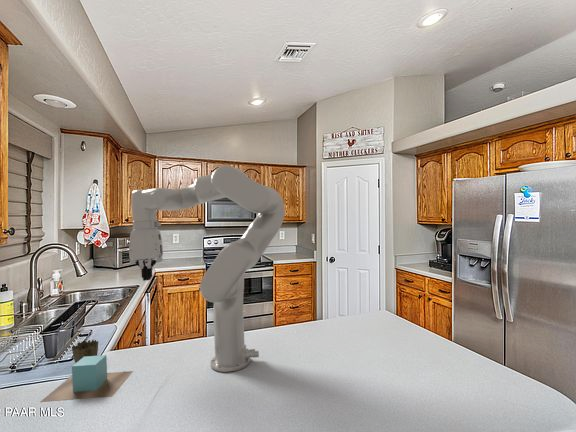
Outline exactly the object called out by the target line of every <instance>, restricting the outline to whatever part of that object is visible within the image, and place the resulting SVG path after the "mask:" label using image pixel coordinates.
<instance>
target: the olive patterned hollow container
mask: <svg viewBox="0 0 576 432" xmlns="http://www.w3.org/2000/svg"><path fill="white" fill-rule="evenodd" d="M98 350H99V340H96V339H92V340H90V339H89V340H88V341H86V340H83V341H81V342H80V341H78V342H77V345H75V344H73V345H72V346H71V352H72V356H73V360H74V364H75V363H77V362H78V361H79V360H81V359H82V358H83V357H85V356H98V352H99V351H98Z"/></svg>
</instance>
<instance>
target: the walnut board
mask: <svg viewBox="0 0 576 432" xmlns="http://www.w3.org/2000/svg"><path fill="white" fill-rule="evenodd" d="M133 372H134V371H133V370H129V371H128V370H126V371H115V372H107V380H106V381H105V382H104V383H103V384H102V385H101V386H100V387H99V388H98V389H97V390H92V391H79V392H73V382H72V375H70V376H69V377H68V378H67V379H66V380H65V381H63V382H62V383H61V384H60V385H59V386H57V387H56V388H55V389H54V390H53V391H51V392H50V393H48V395H47V396H45V397H44V398H43V399H41V401H39V402H40V403H44V402H45V403H46V402H54V401H55V402H56V401H58V402H59V401H72V400H83V399H84V400H85V399H97V398H110V397H113V396H114V395H115V393H116V392H117V391H118V390H119V389H120V388H121V386H122V385H123V384H124V383H125V382H126V380H127V379H128V378H129V377H130V376H131V375H132V374H133Z"/></svg>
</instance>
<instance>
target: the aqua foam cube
mask: <svg viewBox="0 0 576 432" xmlns="http://www.w3.org/2000/svg"><path fill="white" fill-rule="evenodd" d="M107 361H108V359H107V354H101V355H97V356H85V357H83V358H82V359H81V360H79V361H78V362H77V363H75V362H74V364H73V365H72V366H71V376H72V382H73V392H79V391H92V390H97V389H98V388H99V387H100V386H101V385H102V384H103V383H104V382H105V381H106V380H107V373H108V364H107V363H108V362H107Z"/></svg>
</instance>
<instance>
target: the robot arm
mask: <svg viewBox="0 0 576 432" xmlns="http://www.w3.org/2000/svg"><path fill="white" fill-rule="evenodd" d="M225 198H227V199H228V200H230V201H232V202H234V203H235V204H237V205H238V206H240V207H241V208H244V209H245V210H246V211H249V212H252V213H253V214H257V216H256V217H255V218H254V220H253V221H251V223H250V224H249V225H248V227H247V229H246V230H245V232H244V233H243V235H242V236H241V237H240V238H239V239H237V240H235V241H231V242H229V243H228V244H226V245H225V246H224V247H223V248H222V249H221V250H220V251H219V253H218V254H217V256H216V257H215V259H214V260H213V261H212V263H211V264H210V266H209V267H208V268H207V270H206V271H205V272H204V275H203V276H202V278H201V280H200V284H199V290H200V294H201V296H202V297H203V299H204V300H206V301H207V302H210V303H213V308H212V309H213V334H214V355H215V356H214V357H212V359H211V360H210V368H211V369H212V370H214V371H216V372H222V373H223V372H224V373H227V372H228V373H229V372H235V371H236V372H237V371H239V370H242V369H244V368H246V367H247V366H248V365H249V364H250V362H251V358H253V359H254V358H259V357H260V355H259V354H260V353H259V350H256V348H250V349H249V348H247V344H245V327H244V325H245V321H244V319H245V318H244V291H245V278H244V274H245V273H246V272H247V271H248V270H250V269H252V268H253V267H254V266H256V265H257V263H258V262H259V260H260V259H261V257H262V255H264V252H265V251H266V250H267V248H268V247H269V246H270V245H271V243H272V241H273V239H274V238H275V237H276V235H277V234H278V232H279V230H280V229H281V228H282V224H283V222H284V219H285V212H286V209H285V204H284V201H283V199H282V197H281V195H280V193H279V191H277V190H276V189H274V188H273V187H270V186H268V185H263V184H261V183H259V182H257V181H255V180H253V179H252V178H250V177H248V176H247V174H246V173H245V172H244V170H241V169H240V168H238V167H235V166H231V165H228V164H227V165H226V164H225V165H221V166H218V167H217V168H216V169H214V171H213V172H212V173H210V174H205V175H202V176H198V177H196V178H195V180H194V182H193V184H191V185H187V186H185V187H180V188H175V189H174V188H165V187H163V188H162V187H155V188H150V189H136V190H133V191H132V193H131V211H132V212H131V213H132V230H131V231H130V236H129V241H128V246H129V247H128V257H129V263H130V264H133V265H136V266H138V267H139V269H140V270H141V271H140V273H141V278H142V281H144V282H145V281H149V280H151V279H152V278H153V267H154V266H155V265H156V264H157V263H161V262H163V261H164V258H163V256H164V247H163V242H162V241H163V240H162V234H161V230H160V229H158V227H161V226H162V223H161V222H160V221H158V220H157V211H162V212H163V211H164V212H165V211H166V212H167V211H170V212H171V211H181V210H184V209H189V208H193V207H197V206H199V205H203V204H205V203H209V202H214V201H217V200H221V199H225ZM146 260H147V262H146Z"/></svg>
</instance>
